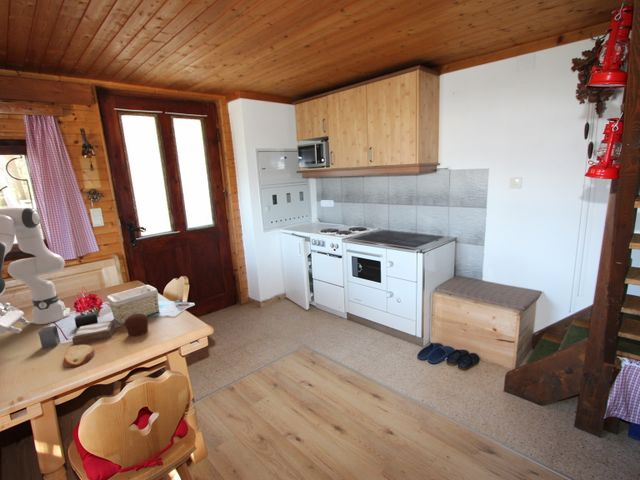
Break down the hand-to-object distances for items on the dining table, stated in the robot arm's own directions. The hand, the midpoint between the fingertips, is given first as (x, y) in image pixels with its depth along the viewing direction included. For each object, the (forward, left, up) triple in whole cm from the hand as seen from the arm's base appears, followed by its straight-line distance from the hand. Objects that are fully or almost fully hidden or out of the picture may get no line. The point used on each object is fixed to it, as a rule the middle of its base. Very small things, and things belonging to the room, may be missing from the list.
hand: (24, 327), depth 164 cm
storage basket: (-20, +45, -12) cm, 51 cm away
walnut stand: (0, +27, -12) cm, 30 cm away
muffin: (+8, +48, -12) cm, 51 cm away
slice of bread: (+21, +24, -12) cm, 34 cm away
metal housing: (0, +8, -12) cm, 14 cm away
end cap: (-18, +20, -12) cm, 30 cm away
